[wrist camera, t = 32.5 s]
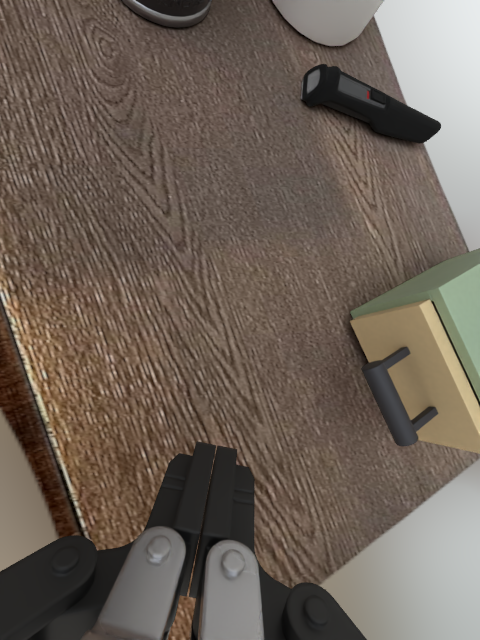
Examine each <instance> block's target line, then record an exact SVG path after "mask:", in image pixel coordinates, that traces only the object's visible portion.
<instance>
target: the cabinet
mask: <svg viewBox="0 0 480 640" xmlns="http://www.w3.org/2000/svg"><path fill="white" fill-rule="evenodd" d="M428 299H430V300H431V301H433V302H434V304H435V306H436V308H437V310H438V312H439V314H440V317H441V319H442V321H443V323H444V325H445V327H446V330H447V332H448V334H449V336H450V338H451V340H452V343H453V345H454V347H455V349H456V351H457V353H458V356H459V358H460V360H461V362H462V364H463V366H464V368H465V371H466V373H467V375H468V377H469V379H470V381H471V384H472V386H473V388H474V390H475V392H476V394H477V397H478V399H479V401H480V249H477V250H474V251H471V252H468V253H465V254H462V255H459V256H457V257H454V258H451V259H448V260H445V261H443V262H441V263H439V264H437V265H436V266H434V267H432V268H430V269H428V270H426V271H424V272H423V273H421V274H419V275H417V276H415V277H413V278H412V279H410V280H408V281H406V282H404V283H402V284H400V285H399V286H397V287H395V288H393V289H391V290H389V291H387V292H386V293H384V294H382V295H380V296H378V297H376V298H374V299H373V300H371V301H369V302H367V303H365V304H363V305H361V306H360V307H358V308H356V309H354V310H352V311H351V312H350V313H351V315H352V317H353V319H355V318H356V317H358V316H362V315H366V314H370V313H374V312H378V311H382V310H386V309H390V308H395V307H399V306H403V305H407V304H411V303H415V302H419V301H423V300H428Z"/></svg>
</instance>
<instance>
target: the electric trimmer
mask: <svg viewBox="0 0 480 640" xmlns="http://www.w3.org/2000/svg"><path fill="white" fill-rule="evenodd" d="M302 89H303V90H302V91H301V94H302V96H301V99H303V100H305V101H306V104H307V106H310V107H311V106H315V105H317V104H320V103H321V104H323V105H326V106H328V107H331V108H333V109H336V110H338V111H341V112H343V113H345V114H348V115H350V116H353V117H355V118H358V119H360V120H363V121H365V122H368V123H369V124H370V126H371V127H372V128H373V130H374V131H375V132H377V133H381V134H384V135H388V136H392V137H396V138H400V139H404V140H408V141H412V142H416V143H423V142H425V141H427V140H429V139H430V138H431V137H432V136H433V135H435V134H436V133H437V132H438V131H439V130H440V128H441V124H440V123H439V122H438V121H436V120H434V119H432V118H430V117H428V116H426V115H424V114H422V113H421V112H419V111H417V110H415V109H413V108H411V107H409V106H407V105H405V104H403V103H401V102H399V101H397V100H396V99H394V98H392V97H390V96H388V95H386V94H385V93H383V92H381V91H379V90H377V89H375V88H373V87H371V86H369V85H367V84H365V83H363V82H361V81H359V80H357V79H356V78H354V77H352V76H350V75H348V74H346V73H344V72H342V71H341V70H340V69H339V68H338V67H336V66H332V67H327V65H326V64H321V65H318V66H315V67H313V68H312V69H310V70H309V71H308V72H307V73H306V74H305V76H304V79H303V81H302Z"/></svg>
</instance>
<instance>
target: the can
mask: <svg viewBox="0 0 480 640" xmlns="http://www.w3.org/2000/svg"><path fill="white" fill-rule="evenodd" d="M272 1H273V3H274V4H275V6H276V7H277V8H278V10H279V11H280V13H281V14H282V16H283V17H284V18H285V19H286V20H287V21H288V22H289V23H290V24H291V25H292V26H293V27H294V28H295V29H296V30H297V31H298V32H300V33H301V34H303V35H305V36H306V37H308V38H310V39H311V40H313V41H315V42H318V43H321V44H324V45H328V46H343V45H345V44H347V43H349V42H350V41H352V40H354V39H355V38H357V37H359V35H360V34H361V32H362V31H363V29H364V28H365V27H366V25H367V24H368V22H369V21H370V20H371V18H372V17H373V15H374V14H375V12H376V11H377V9H378V8H379V7H380V5H381V4H382V3H383V1H384V0H272Z"/></svg>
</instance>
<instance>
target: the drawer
mask: <svg viewBox="0 0 480 640" xmlns="http://www.w3.org/2000/svg"><path fill="white" fill-rule="evenodd" d="M350 323H351V325H352V327H353V329H354V332H355V334H356V336H357V338H358V340H359V342H360V345H361V347H362V349H363V351H364V353H365V355H366V357H367V360H368V362H369V363H368V364H366V365H364V366H363V367H362V368H361V370H362V372H363V374H364V376H365V378H366V380H367V383H368V385H369V387H370V389H371V391H372V393H373V395H374V398H375V400H376V402H377V404H378V406H379V408H380V410H381V413H382V415H383V417H384V419H385V421H386V423H387V426H388V428H389V430H390V432H391V434H392V436H393V438H394V441H395V443H396V444H397V445H399V446H409V445H412V444H414V443H415V442H417V441H418V440H420V441H425V442H429V443H434V444H438V445H443V446H447V447H452V448H456V449H461V450H465V451H470V452H475V453H479V454H480V401H479V399H478V397H477V394H476V392H475V390H474V388H473V386H472V384H471V381H470V379H469V377H468V375H467V373H466V371H465V368H464V366H463V364H462V362H461V360H460V358H459V356H458V353H457V351H456V349H455V347H454V345H453V343H452V340H451V338H450V336H449V334H448V332H447V330H446V327H445V325H444V323H443V321H442V319H441V317H440V314H439V312H438V310H437V308H436V306H435V304H434V302H433V301H431V300H430V299H428V300H423V301H419V302H415V303H411V304H407V305H403V306H399V307H395V308H390V309H386V310H382V311H378V312H374V313H370V314H366V315H362V316H358V317H356V318H355V319H353V320H351V321H350Z"/></svg>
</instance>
